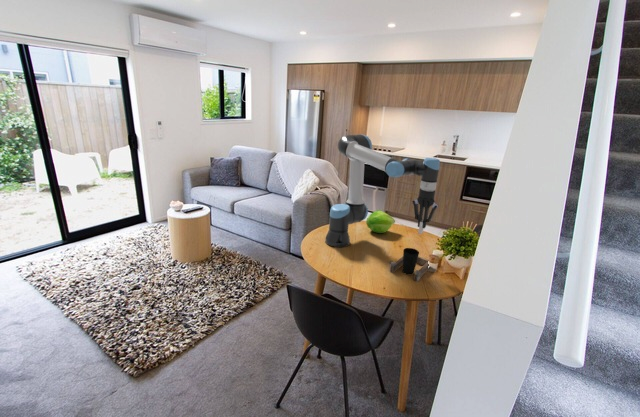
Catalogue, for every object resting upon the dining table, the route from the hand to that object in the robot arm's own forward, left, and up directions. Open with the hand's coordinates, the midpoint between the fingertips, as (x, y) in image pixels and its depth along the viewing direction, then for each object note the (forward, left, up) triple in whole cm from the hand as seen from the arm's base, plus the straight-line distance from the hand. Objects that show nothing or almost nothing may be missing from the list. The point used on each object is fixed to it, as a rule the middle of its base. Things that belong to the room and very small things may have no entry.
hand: (420, 233), depth 162 cm
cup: (0, -9, -19) cm, 22 cm away
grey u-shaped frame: (0, -6, -19) cm, 20 cm away
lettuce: (-37, +31, -19) cm, 52 cm away
